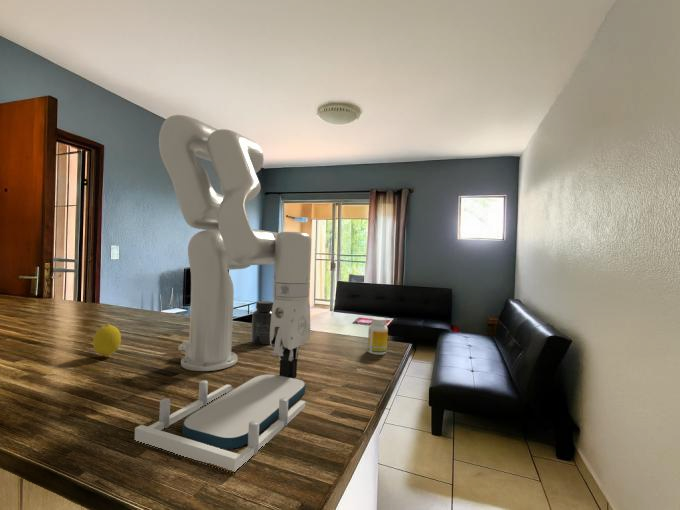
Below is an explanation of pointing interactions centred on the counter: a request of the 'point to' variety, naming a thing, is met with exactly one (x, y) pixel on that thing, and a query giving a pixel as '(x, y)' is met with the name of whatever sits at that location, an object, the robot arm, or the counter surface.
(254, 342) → the supplement bottle
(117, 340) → the lemon
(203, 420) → the white blue rounded slab
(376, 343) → the supplement bottle
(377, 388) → the counter surface
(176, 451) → the dock
